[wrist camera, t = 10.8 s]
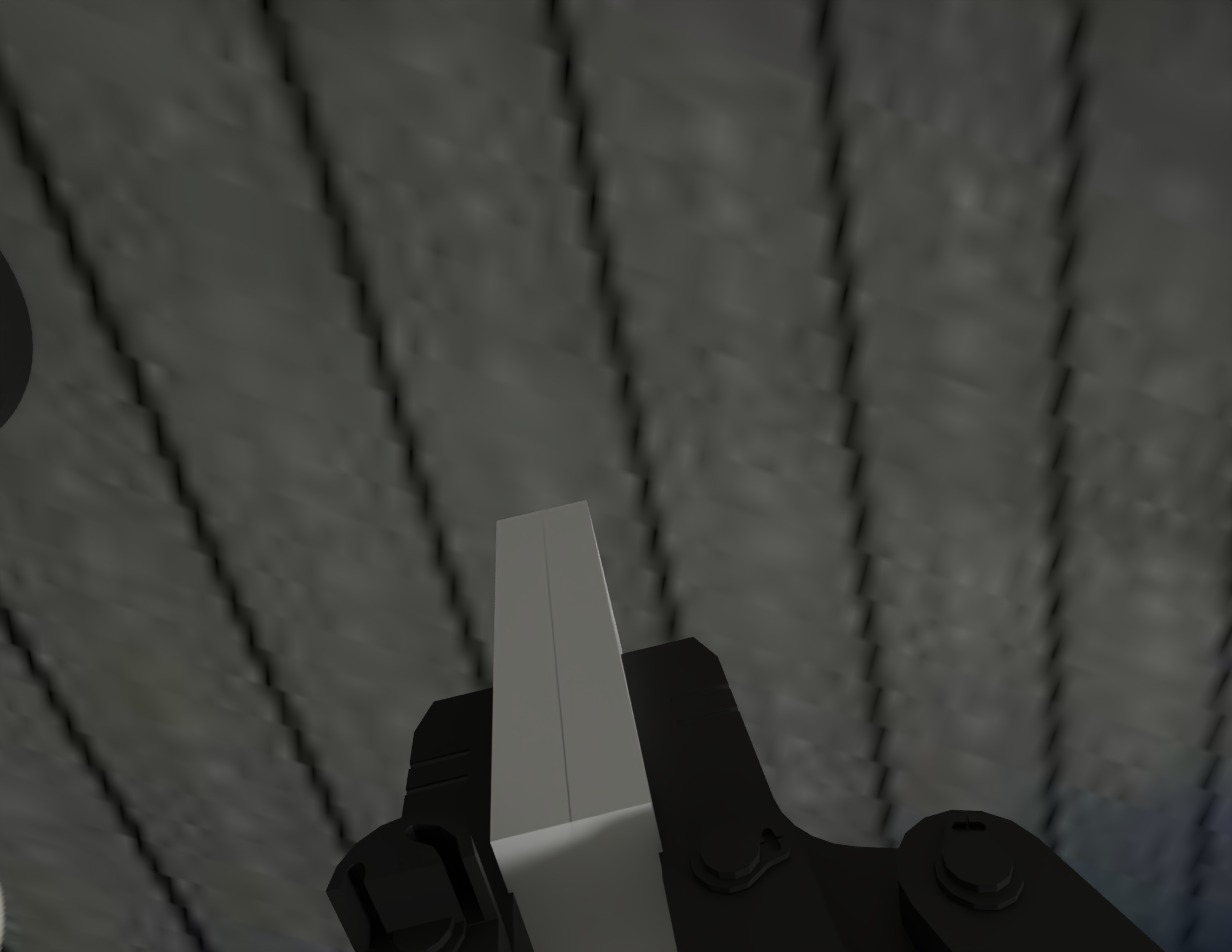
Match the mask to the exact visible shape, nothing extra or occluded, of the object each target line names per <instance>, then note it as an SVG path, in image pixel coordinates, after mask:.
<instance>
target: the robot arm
mask: <svg viewBox="0 0 1232 952" xmlns="http://www.w3.org/2000/svg"><path fill="white" fill-rule="evenodd" d="M32 352H33V344H32V331H31V324H30V319H29V314H28V310H27V307H26V303H25V300H24V297H23V294H22V292H21V289H20V287H19V284H18V282H17V280H16V278H15V275H14V274H13V272H12V270H11V268H10V266H9V264H8V263H7V261H6V259H5V258H4V256H3V254H2V253H1V251H0V428H1V427H2V426H3V425H4V424H5V423H6V421H7V420H8V419H9V418H10V417H11V415H12V414H13V412H14V411H15V409H16V408H17V406H18V404H19V402H20V401H21V398H22V396H23V394H24V392H25V389H26V386H27V383H28V380H29V375H30V371H31V364H32ZM410 767H411V769H409V771H408V778H407V785H406V791H407V795H406V796H405V799H404V805H403V812H402V818H400V819H397V820H394V821H392V822H389V823H387V824H384V825H382V826H380V827H379V828H377V829H376V830H374V831H373V832H372V833H370V834H369V835H367V836H366V837H365V838H363V839H362V840H360V841H359V842H358V843H356V844H355V846H354V847H353V848H352V849H351V850H350V851H349V853H348V854H347V855H346V856H345V857H344V858H343V860H342V861H341V862H340V863H339V864H338V865H337V867H336V869H335V872H334V874H333V876H332V878H331V881H330V883H329V885H328V888H327V890H326V893H327V895H328V897H329V899H330V901H331V903H332V905H333V907H334V909H335V911H336V913H337V915H338V918H339V920H340V922H341V924H342V926H343V928H344V930H345V932H346V934H347V936H348V938H349V940H350V942H351V944H352V946H353V948H354V950H355V952H1165V951H1164V950H1162V949H1161V948H1160V947H1159V946H1158V945H1157V944H1156V943H1155V942H1153V941H1152V940H1151V939H1150V938H1149V937H1148V936H1147V935H1146V934H1145V933H1143V932H1142V931H1141V930H1140V929H1139V928H1138V927H1137V926H1136V925H1135V924H1133V923H1132V922H1131V921H1130V920H1129V919H1128V918H1127V917H1126V916H1125V915H1123V914H1122V913H1121V912H1120V911H1119V910H1118V909H1117V908H1116V907H1114V906H1113V905H1112V904H1111V903H1110V902H1109V901H1108V900H1107V899H1106V898H1104V897H1103V896H1102V895H1101V894H1100V893H1099V892H1098V891H1097V890H1096V889H1094V888H1093V887H1092V886H1091V885H1090V884H1089V883H1088V882H1087V881H1085V880H1084V879H1083V878H1082V877H1081V876H1080V875H1079V874H1078V873H1077V872H1075V871H1074V870H1073V869H1072V868H1071V867H1070V866H1069V865H1068V864H1067V863H1065V862H1064V861H1063V860H1062V859H1061V858H1060V857H1059V856H1058V855H1057V854H1055V853H1054V852H1053V851H1052V850H1051V849H1050V848H1049V847H1048V846H1046V845H1045V844H1044V843H1043V842H1042V841H1041V840H1040V839H1039V838H1037V837H1036V836H1034V835H1033V834H1031V833H1030V832H1028V831H1027V830H1025V829H1024V828H1022V827H1020V826H1019V825H1017V824H1016V823H1014V822H1013V821H1011V820H1008V819H1005V818H1001V817H998V816H995V815H992V814H989V813H986V812H983V811H965V810H949V811H946V812H943V813H939V814H936V815H932V816H929V817H925V818H924V819H922V820H921V821H920V822H919V823H917V824H916V825H915V826H914V827H912V828H911V829H910V830H909V831H907V832H906V833H905V835H904V838H903V840H902V842H901V844H900V847H899V849H897V848H875V847H855V846H848V845H841V844H834V843H830V842H828V841H825V840H822V839H819V838H816V837H814V836H811V835H810V834H808V833H806V832H805V831H803V830H802V829H800V828H798V827H797V826H795V825H794V824H793V823H792V822H791V821H790V820H789V819H788V818H787V817H786V816H785V815H784V814H783V813H782V812H781V810H780V808H779V807H778V805H777V803H776V802H775V800H774V798H773V796H772V793H771V791H770V788H769V786H768V783H767V780H766V778H765V775H764V773H763V770H762V768H761V765H760V763H759V760H758V758H757V755H756V753H755V750H754V748H753V745H752V742H751V740H750V737H749V735H748V732H747V730H746V727H745V725H744V722H743V720H742V717H741V715H740V712H739V711H738V708H737V704H736V702H735V699H734V697H733V694H732V692H731V689H730V688H729V685H728V682H727V679H726V677H725V674H724V671H723V669H722V666H721V664H720V661H719V659H718V656H716V655H715V654H714V653H713V652H711V651H710V650H709V649H708V648H706V647H705V646H704V645H703V644H701V643H700V642H699V641H698V640H696V639H695V638H694V637H691V638H687V639H683V640H679V641H674V642H670V643H666V644H662V645H658V646H654V647H649V648H645V649H641V650H637V651H633V652H628V653H624V654H622V649H621V645H620V640H619V636H618V631H617V627H616V623H615V619H614V615H613V610H612V606H611V602H610V598H609V593H608V589H607V585H606V581H605V576H604V572H603V568H602V564H601V559H600V555H599V551H598V547H597V542H596V538H595V534H594V530H593V525H592V521H591V517H590V513H589V508H588V504H587V500H584V501H580V502H576V503H571V504H567V505H563V506H558V507H554V508H550V509H545V510H541V511H537V512H533V513H528V514H524V515H520V516H515V517H511V518H507V519H502V520H498V521H497V528H496V578H495V627H494V677H493V688H489V689H485V690H481V691H476V692H472V693H468V694H464V695H460V696H455V697H451V698H447V699H443V700H439V701H434V702H433V704H432V705H431V707H430V708H429V710H428V711H427V713H426V714H425V716H424V718H423V719H422V721H421V722H420V724H419V725H418V727H417V729H416V730H415V732H414V737H413V744H412V751H411V758H410Z"/></svg>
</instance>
